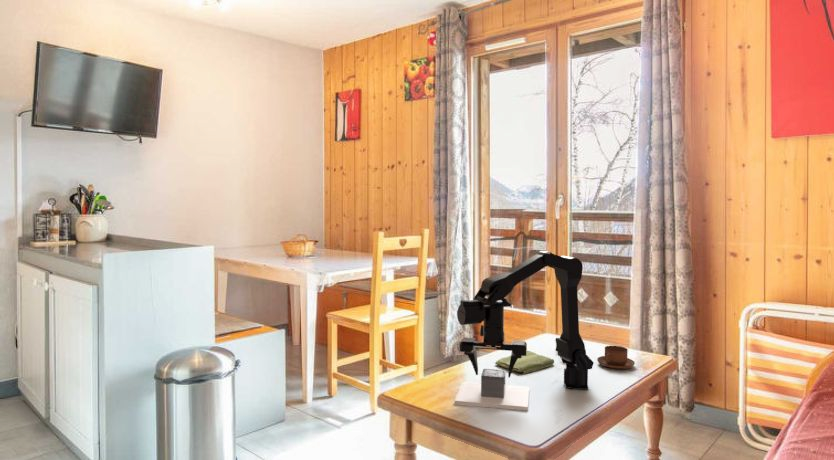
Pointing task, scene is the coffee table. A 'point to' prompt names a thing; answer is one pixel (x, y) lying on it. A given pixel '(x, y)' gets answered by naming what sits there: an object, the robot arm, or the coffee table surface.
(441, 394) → the coffee table surface
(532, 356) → the washcloth
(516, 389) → the post plate
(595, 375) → the coffee table surface
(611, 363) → the cup and saucer
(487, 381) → the dark grey framed cube
